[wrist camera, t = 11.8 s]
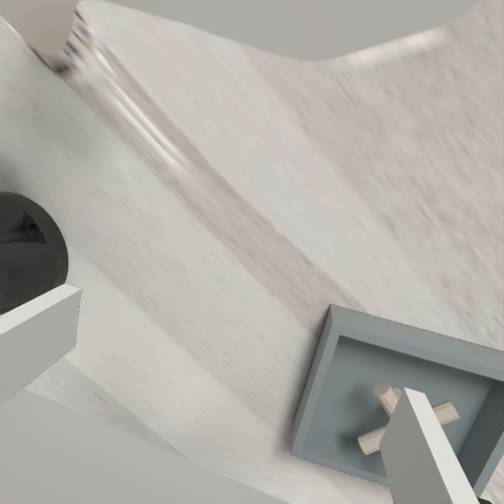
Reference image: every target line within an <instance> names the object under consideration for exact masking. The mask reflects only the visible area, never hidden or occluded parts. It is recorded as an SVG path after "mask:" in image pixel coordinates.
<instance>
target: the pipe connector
mask: <svg viewBox="0 0 504 504" xmlns="http://www.w3.org/2000/svg"><path fill="white" fill-rule="evenodd" d="M373 393H374V395H375V396H376V398H377V399H378V401H379V402H380V404H381V405H382V407H383V408H384V410H385V411H386V413H387V414H388V416H389V417H390V418H391V416H392V414H393V411H394V409H395V407H396V405H397V402H398V400H399V398H400V395H401V393H402V391H401V390H400V389H397V388H391V386H390V385H389V384H388V383H386V382H382V383H379V384H378V385H376V386H375V387H374V389H373ZM431 407H432V409H433V411H434V413H435V415H436V417H437V419H438V421H439V423H440V425H444V424H446V423H449V422H451V421H454V420H457V419H459V418H460V416H459V415H458V413H457V411H456V410H455V408H454V406H453V405H452V403H451V401H450V400H449V399H448V400H446V401H444V402H441V403H439V404H436V405H434V406H431ZM386 427H387V425H385V426H383V427H380V428H378V429H376V430H373V431H371V432H368V433H366V434H363V435H361V436H359V437H358V441H359V444H360V447H361V449H362V450H363V452H364V453H365V455H368V454H370V453H373V452H375V451H378V450H380V446H379V443H380V441H381V439H382V436H383V434H384V432H385V430H386Z"/></svg>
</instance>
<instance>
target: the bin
mask: <svg viewBox="0 0 504 504" xmlns="http://www.w3.org/2000/svg"><path fill="white" fill-rule="evenodd" d="M382 382H386V383H388V384H389V385H390V386H391V388H397V389H400V390H401V391H403V389H404V387H405V388H408V389H411V390H415V391H418V392H421V393H425V395H426V397H427V399H428V401H429V403H430V405H431V406H434V405H436V404H439V403H441V402H444V401H446V400H448V399H449V400H450V401H451V403H452V405H453V406H454V408H455V410H456V411H457V413H458V415H459V416H460V418H459V419H457V420H454V421H451V422H449V423H446V424H444V425H441V427H442V429H443V431H444V433H445V435H446V437H447V439H448V441H449V443H450V445H451V447H452V449H453V451H454V453H455V455H456V457H457V459H458V461H459V463H460V466H461V468H462V470H463V472H464V474H465V476H466V478H467V480H468V482H469V484H470V486H471V488H472V490H473V492H474V494H475V496H476V497H478V498H480V496H481V494H482V492H483V490H484V489H485V487H486V485H487V483H488V481H489V479H490V478H491V476H492V474H493V472H494V470H495V468H496V467H497V465H498V463H499V461H500V459H501V457H502V456H503V454H504V352H503V351H499V350H495V349H492V348H488V347H485V346H481V345H477V344H474V343H470V342H466V341H463V340H459V339H456V338H452V337H448V336H445V335H441V334H437V333H434V332H430V331H427V330H423V329H419V328H416V327H412V326H408V325H405V324H401V323H398V322H394V321H390V320H387V319H383V318H379V317H376V316H372V315H369V314H365V313H361V312H358V311H354V310H350V309H347V308H343V307H340V306H336V305H332V304H330V307H329V310H328V314H327V317H326V320H325V323H324V326H323V329H322V333H321V336H320V339H319V342H318V345H317V348H316V352H315V355H314V358H313V361H312V364H311V367H310V371H309V374H308V377H307V380H306V383H305V386H304V390H303V393H302V396H301V399H300V402H299V405H298V409H297V412H296V415H295V418H294V421H293V428H292V441H291V453H290V455H293V456H296V457H299V458H302V459H305V460H308V461H311V462H314V463H317V464H320V465H324V466H327V467H330V468H333V469H336V470H339V471H342V472H345V473H348V474H351V475H354V476H357V477H360V478H364V479H367V480H370V481H373V482H376V483H379V484H382V485H385V486H388V487H389V483H388V479H387V475H386V471H385V467H384V463H383V459H382V455H381V451H380V450H378V451H375V452H373V453H370V454H368V455H365V453H364V452H363V450H362V449H361V447H360V444H359V441H358V437H359V436H361V435H363V434H366V433H368V432H371V431H373V430H376V429H378V428H380V427H383V426H385V425H388V423H389V420H390V417H389V416H388V414H387V413H386V411H385V410H384V408H383V407H382V405H381V404H380V402H379V401H378V399H377V398H376V396H375V395H374V393H373V389H374V387H375V386H376V385H378V384H379V383H382Z"/></svg>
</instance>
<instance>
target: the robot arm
mask: <svg viewBox="0 0 504 504" xmlns="http://www.w3.org/2000/svg"><path fill="white" fill-rule="evenodd" d="M67 270H68V255H67V249H66V245H65V242H64V239H63V236H62V234H61V232H60V230H59V228H58V226H57V225H56V223H55V222H54V220H53V219H52V218H51V217H50V215H49V214H48V213H47V212H46V211H45V210H44V209H43V208H42V207H40V206H39V205H38V204H37V203H35V202H34V201H32V200H30V199H28V198H26V197H24V196H22V195H19V194H15V193H10V192H0V315H1V314H3V315H1V316H0V407H1V406H2V405H3V404H4V403H6V402H7V401H8V400H9V399H11V398H12V397H13V396H14V395H16V394H17V393H18V392H19V391H21V390H22V389H23V388H24V387H26V386H27V385H28V384H29V383H31V382H32V381H33V380H34V379H36V378H37V377H38V376H39V375H41V374H42V373H43V372H44V371H46V370H47V369H48V368H49V367H51V366H52V365H53V364H54V363H56V362H57V361H58V360H59V359H61V358H62V357H63V356H64V355H66V354H67V353H68V352H69V351H71V350H72V349H73V348H75V344H76V335H77V326H78V317H79V308H80V299H81V290H82V289H80V288H77V287H73V286H70V285H67V284H64V281H65V279H66V275H67ZM379 446H380V451H381V455H382V459H383V463H384V467H385V471H386V475H387V479H388V483H389V487H390V491H391V495H392V499H393V503H394V504H492V503H491V502H490V501H487V500H484V499H481V498H478V497H476V496H475V494H474V492H473V490H472V488H471V486H470V484H469V482H468V480H467V478H466V476H465V474H464V472H463V470H462V468H461V466H460V463H459V461H458V459H457V457H456V455H455V453H454V451H453V449H452V447H451V445H450V443H449V441H448V439H447V437H446V435H445V433H444V431H443V429H442V427H441V425H440V423H439V421H438V419H437V417H436V415H435V413H434V411H433V409H432V407H431V405H430V403H429V401H428V399H427V397H426V395H425V393H421V392H418V391H415V390H411V389H408V388H405V387H404V389H403V391H402V393H401V395H400V398H399V400H398V402H397V405H396V407H395V409H394V411H393V414H392V416H391V418H390V420H389V423H388V425H387V427H386V430H385V432H384V434H383V436H382V439H381V441H380V443H379Z"/></svg>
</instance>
